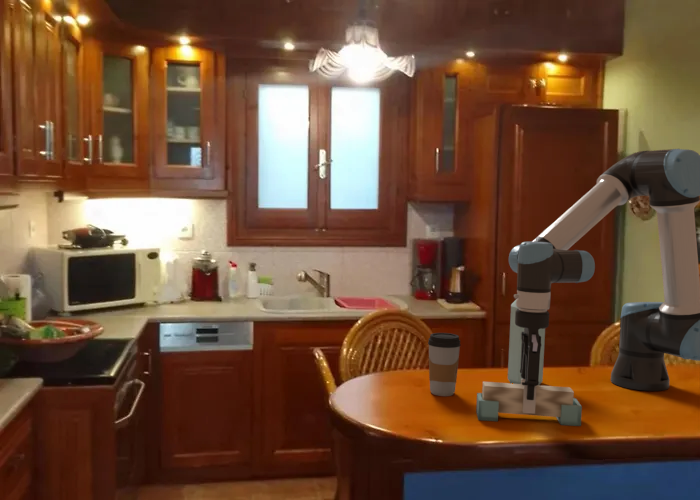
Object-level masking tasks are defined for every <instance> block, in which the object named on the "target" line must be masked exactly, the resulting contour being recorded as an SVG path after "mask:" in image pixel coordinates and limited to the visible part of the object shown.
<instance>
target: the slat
mask: <svg viewBox="0 0 700 500" xmlns="http://www.w3.org/2000/svg"><path fill="white" fill-rule="evenodd" d="M523 392H524V385H522V384H512V383H509V382H498V381H497V382H496V381H495V382H494V381H482V389H481V393H482V400H488V401H499V408H498V414H508V415H509V414H510V415H511V414H512V415H525V416H539V417H551V418H552V417H553V418H556V417H561V405H573V398H575V397H574V395H575V392H574V390H573V389H572V388H571V387H569V386H552V385H541V384H540V385H537V386H536V405H535V414H532V413H523V412H522V411H523Z"/></svg>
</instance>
